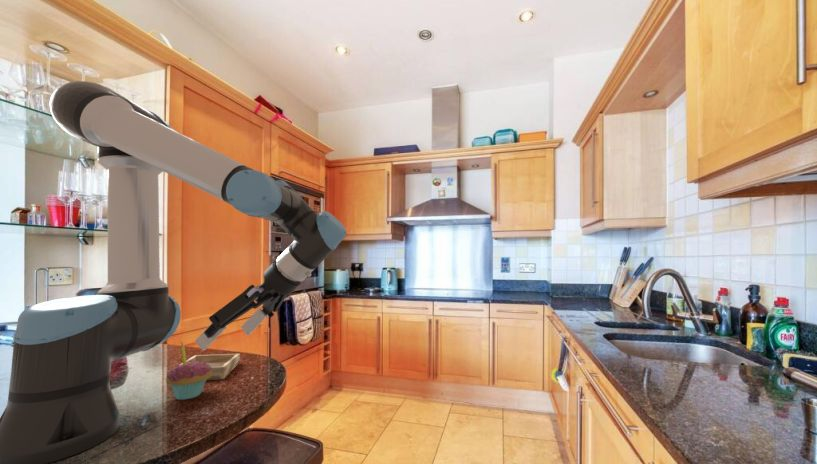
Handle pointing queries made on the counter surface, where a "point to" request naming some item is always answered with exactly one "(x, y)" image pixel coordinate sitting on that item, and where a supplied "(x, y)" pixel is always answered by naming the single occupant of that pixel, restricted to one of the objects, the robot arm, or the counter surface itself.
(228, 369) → the maple box
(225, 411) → the counter surface
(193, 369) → the cupcake
